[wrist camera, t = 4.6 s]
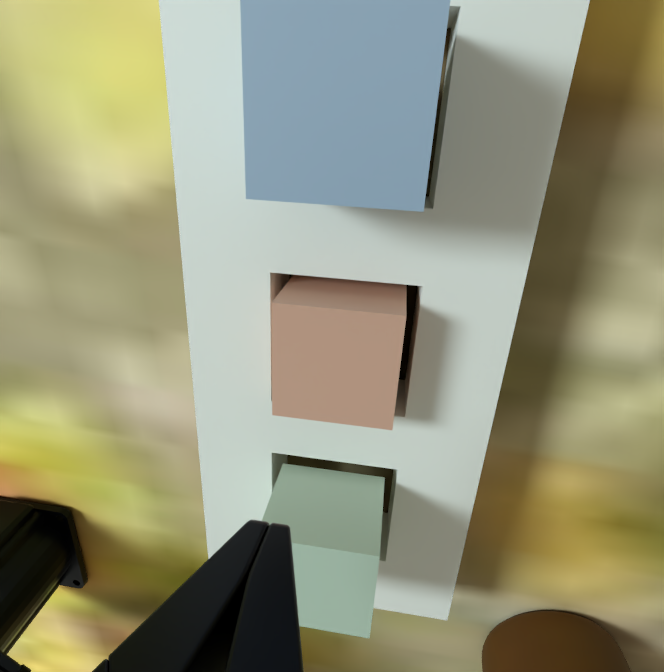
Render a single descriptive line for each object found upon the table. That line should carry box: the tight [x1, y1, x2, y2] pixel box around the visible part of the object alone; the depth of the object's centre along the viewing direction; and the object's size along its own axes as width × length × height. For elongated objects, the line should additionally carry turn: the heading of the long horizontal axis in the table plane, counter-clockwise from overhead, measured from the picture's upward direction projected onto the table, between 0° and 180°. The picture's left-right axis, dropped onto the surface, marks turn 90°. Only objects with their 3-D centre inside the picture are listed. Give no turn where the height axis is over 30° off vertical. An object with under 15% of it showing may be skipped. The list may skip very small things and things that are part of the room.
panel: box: [159, 0, 590, 620], centre depth 19 cm, size 28×12×3 cm, turn 177°
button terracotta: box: [271, 275, 407, 430], centre depth 18 cm, size 4×4×4 cm
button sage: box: [262, 463, 385, 638], centre depth 19 cm, size 4×4×4 cm
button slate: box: [240, 0, 450, 212], centre depth 12 cm, size 4×4×4 cm
